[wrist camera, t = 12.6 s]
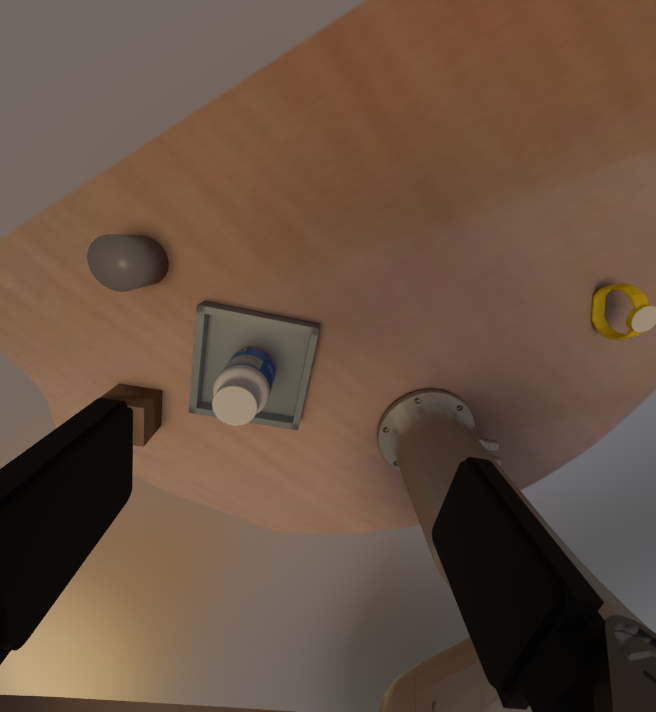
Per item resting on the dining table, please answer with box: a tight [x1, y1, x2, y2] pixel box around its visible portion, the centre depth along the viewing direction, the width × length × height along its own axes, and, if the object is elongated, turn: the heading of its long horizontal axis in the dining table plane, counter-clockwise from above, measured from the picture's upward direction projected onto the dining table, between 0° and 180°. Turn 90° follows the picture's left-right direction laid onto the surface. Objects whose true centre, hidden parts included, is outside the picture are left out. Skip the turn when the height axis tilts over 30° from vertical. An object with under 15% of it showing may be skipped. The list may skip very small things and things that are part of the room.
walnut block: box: [100, 384, 162, 447], centre depth 37 cm, size 5×5×4 cm
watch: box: [591, 283, 656, 340], centre depth 35 cm, size 6×3×6 cm, turn 12°
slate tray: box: [189, 301, 320, 430], centre depth 37 cm, size 13×13×2 cm
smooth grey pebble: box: [87, 234, 168, 292], centre depth 31 cm, size 5×5×5 cm
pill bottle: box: [212, 347, 276, 426], centre depth 33 cm, size 6×5×10 cm
